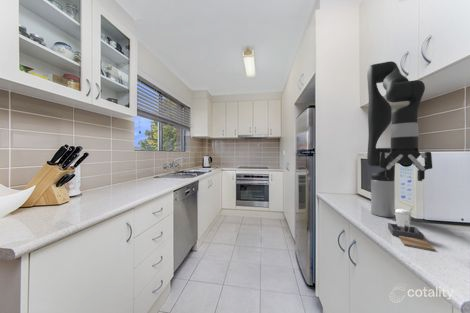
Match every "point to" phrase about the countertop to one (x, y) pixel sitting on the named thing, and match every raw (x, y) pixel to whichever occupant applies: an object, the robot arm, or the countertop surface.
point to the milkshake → (403, 219)
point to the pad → (416, 243)
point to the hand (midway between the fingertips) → (403, 180)
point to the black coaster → (416, 234)
